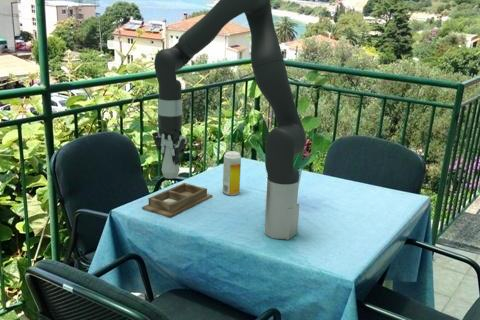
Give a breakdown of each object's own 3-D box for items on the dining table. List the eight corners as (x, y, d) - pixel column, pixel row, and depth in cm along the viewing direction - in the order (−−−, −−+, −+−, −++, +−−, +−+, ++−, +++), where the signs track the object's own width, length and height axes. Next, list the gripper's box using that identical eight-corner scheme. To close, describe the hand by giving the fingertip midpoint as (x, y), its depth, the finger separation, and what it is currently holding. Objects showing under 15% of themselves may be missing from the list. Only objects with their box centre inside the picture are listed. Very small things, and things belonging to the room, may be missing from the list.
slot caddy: (212, 197, 182) (212, 187, 181) (170, 218, 163) (170, 208, 162) (185, 189, 188) (185, 180, 187) (142, 209, 169) (141, 199, 168)
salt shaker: (170, 180, 165) (170, 141, 161) (157, 176, 168) (157, 138, 164) (183, 176, 169) (183, 138, 165) (170, 172, 172) (170, 135, 168)
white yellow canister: (242, 192, 187) (244, 153, 183) (233, 197, 182) (235, 156, 178) (228, 188, 190) (230, 150, 186) (219, 193, 185) (220, 153, 181)
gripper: (195, 114, 162) (194, 166, 167) (160, 107, 169) (161, 158, 174) (180, 118, 155) (179, 172, 161) (145, 111, 163) (146, 163, 168)
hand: (170, 164), depth 167 cm, fingers closed on salt shaker, 3 cm apart
